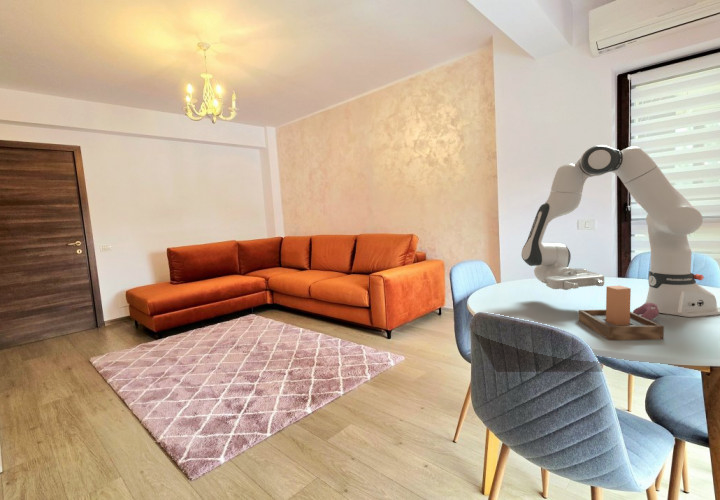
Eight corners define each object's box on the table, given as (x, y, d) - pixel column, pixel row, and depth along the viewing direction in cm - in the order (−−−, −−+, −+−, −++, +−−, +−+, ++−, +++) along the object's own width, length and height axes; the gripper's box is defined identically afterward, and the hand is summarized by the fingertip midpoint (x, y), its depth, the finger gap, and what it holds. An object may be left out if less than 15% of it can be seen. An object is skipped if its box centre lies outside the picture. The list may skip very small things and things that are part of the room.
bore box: (624, 320, 120) (624, 309, 119) (663, 339, 102) (663, 326, 101) (578, 321, 121) (578, 310, 121) (608, 340, 104) (609, 327, 103)
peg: (618, 326, 114) (619, 285, 112) (629, 331, 110) (630, 288, 108) (605, 327, 114) (606, 286, 112) (616, 332, 109) (617, 289, 108)
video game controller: (651, 328, 115) (664, 310, 113) (636, 321, 117) (648, 303, 115) (645, 319, 124) (657, 303, 121) (631, 312, 125) (642, 296, 123)
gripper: (538, 272, 137) (561, 279, 123) (588, 268, 138) (615, 274, 124) (539, 288, 137) (561, 296, 123) (588, 283, 138) (615, 291, 124)
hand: (589, 285), depth 124 cm, fingers open, 8 cm apart
